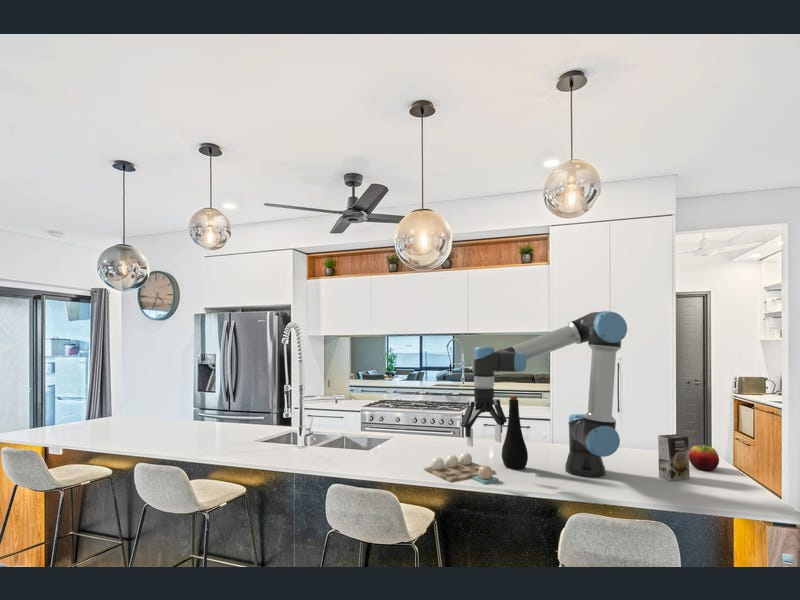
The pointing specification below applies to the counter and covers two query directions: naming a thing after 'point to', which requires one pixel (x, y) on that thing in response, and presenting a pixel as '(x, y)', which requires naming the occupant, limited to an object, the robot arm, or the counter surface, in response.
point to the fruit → (703, 457)
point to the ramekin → (485, 480)
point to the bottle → (514, 439)
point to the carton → (456, 472)
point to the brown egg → (485, 472)
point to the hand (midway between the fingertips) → (484, 443)
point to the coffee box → (673, 457)
